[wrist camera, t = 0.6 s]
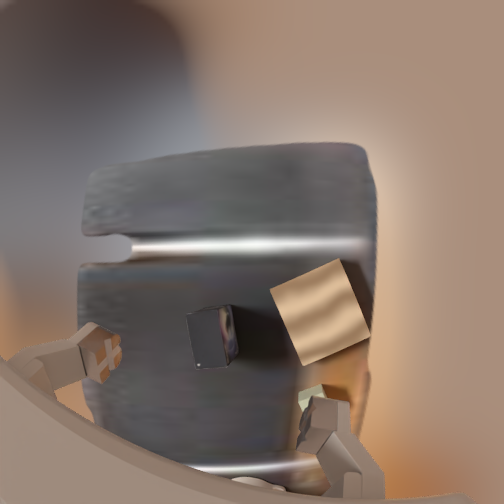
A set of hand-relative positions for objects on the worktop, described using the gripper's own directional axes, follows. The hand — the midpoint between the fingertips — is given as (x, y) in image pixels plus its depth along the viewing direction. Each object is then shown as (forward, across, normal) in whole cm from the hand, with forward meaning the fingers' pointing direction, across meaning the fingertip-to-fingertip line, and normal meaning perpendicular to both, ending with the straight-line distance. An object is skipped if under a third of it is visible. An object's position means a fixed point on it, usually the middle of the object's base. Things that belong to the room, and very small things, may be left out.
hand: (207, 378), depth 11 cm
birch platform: (+43, +10, -20) cm, 49 cm away
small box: (+40, -8, -29) cm, 51 cm away
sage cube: (+36, +14, -37) cm, 53 cm away
